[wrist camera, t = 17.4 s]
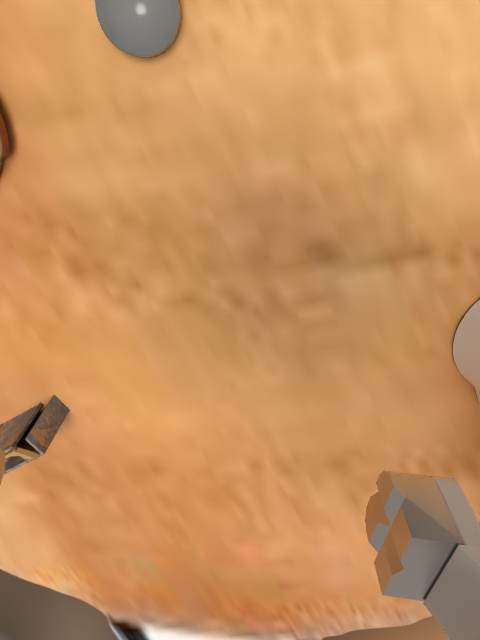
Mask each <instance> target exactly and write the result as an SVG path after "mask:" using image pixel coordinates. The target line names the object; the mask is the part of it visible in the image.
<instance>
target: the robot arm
mask: <svg viewBox="0 0 480 640" xmlns="http://www.w3.org/2000/svg"><path fill="white" fill-rule="evenodd" d="M453 357H454V361H455V364H456V366H457V368H458V370H459V372H460V373H461V374H462V376H463V377H464V378H465V379H466V380H468V381H469V382H470V383H471V384H472V385H473V386H474V388H475V391H476V395H477V398H478V400H479V402H480V300H478V301H477V302H476V303H475V304H474V305H473V306H472V307H471V309H470V310H469V311H468V312H467V313H466V315H465V316H464V318H463V319H462V321H461V323H460V324H459V326H458V329H457V331H456V334H455V337H454V342H453ZM1 437H2V435H1V430H0V438H1ZM5 463H6V459H5V452H4V451H3V450H2V449H1V448H0V484H1V481H2V478H3V475H4V472H5ZM376 483H377V487H378V490H379V492H377V493H376V494H374V495H373V496H371V497H370V499H369V502H368V505H367V508H366V518H365V523H366V532H367V536H368V540H369V543H370V544H371V545H372V546H373V547H374V549H375V550H376V551H377V552H378V555H377V557H376V560H375V562H374V564H375V568H376V572H377V576H378V580H379V584H380V588H381V592H382V595H385V596H392V597H399V598H406V599H413V600H420V601H424V605H425V606H426V607H427V609H428V610H429V611H430V613H431V614H432V615H433V617H434V618H435V619H436V621H437V622H438V623H439V625H440V626H441V627H442V629H443V630H444V631H445V633H446V634H447V635H448V636H449V638H450V639H451V640H480V523H479V521H478V520H477V518H476V516H475V514H474V512H473V510H472V508H471V506H470V504H469V502H468V500H467V498H466V496H465V495H464V493H463V491H462V489H461V487H460V485H459V483H458V482H457V481H456V480H455V479H454V478H445V477H436V476H427V475H419V474H410V473H401V472H393V471H383V472H382V473H381V474H380V475H379V478H378V480H377V482H376Z"/></svg>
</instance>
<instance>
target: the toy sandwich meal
mask: <svg viewBox="0 0 480 640" xmlns="http://www.w3.org/2000/svg"><path fill="white" fill-rule="evenodd" d="M8 153H9V141H8V135H7V131H6V127H5V124H4V120H3V118H2V115H1V112H0V168H1V162H2V158H5V157H7V155H8Z"/></svg>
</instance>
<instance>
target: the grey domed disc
mask: <svg viewBox="0 0 480 640" xmlns="http://www.w3.org/2000/svg"><path fill="white" fill-rule="evenodd" d="M95 5H96V12H97V17H98V20H99V23H100V25H101V28H102V30H103V31H104V33H105V35H106V36H107V38H108V39H109V40H110V41H111V42H112V43H113V44H114V45H115V46H116V47H117V48H119V49H120V50H122V51H123V52H125V53H128V54H130V55H134V56H139V57H144V58H150V57H155V56H158V55H161V54H162V53H164V52H166V51H167V50H168V49H169V48H170V47H171V46H172V45H173V43H174V42H175V40H176V38H177V36H178V34H179V31H180V27H181V21H182V10H181V3H180V0H95Z"/></svg>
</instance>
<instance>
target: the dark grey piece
mask: <svg viewBox="0 0 480 640" xmlns="http://www.w3.org/2000/svg"><path fill="white" fill-rule="evenodd" d="M42 406H43V404H42V403H39V404H38V405H37V406H35V407H33V408H31V409H29V410H27V411H26V412H24V413H22V414H20V415H18V416H17V417H15V418H13V419H11V420H9V421H7V422H6V423H4V424H0V430H1V435H2V437H1V438H0V448H1V449H2V450H3V451H4V452H5V459H6V463H5V472H4V474H6V473H8V472H10V471H12V470H14V469H16V468H18V467H20V466H22V465H24V464H26V463H28V462H30V461H32V460H37V458H38V457H40V456H42V455H44V454H45V452H46V450H47V449H48V447H49V445H50V443H51V442H52V440H53V438H54V436H55V434H56V433H57V431H58V429H59V427H60V426H61V424H62V422H63V420H64V419H65V417H66V415H67V413H68V411H69V409H68V408H67V407H66V406H65V405H64V404H63V403H62V402H61V401H60V400H59V399H58V398H57V397H56V396H55V395H54V396H53V397H52V398H51V400H50V401H49V403H48V404H47V406H46V408H45V409H44V411H43V412H42V414H41V415H40V417H39V418H38V420H37V422H36V423H35V425H34V426H33V427H31V428H29V429H27V428H28V427H29V425H30V424H31V422H32V421H33V419H34V418H35V416H36V415H37V413H38V412H39V410H40V409H41V407H42Z"/></svg>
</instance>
